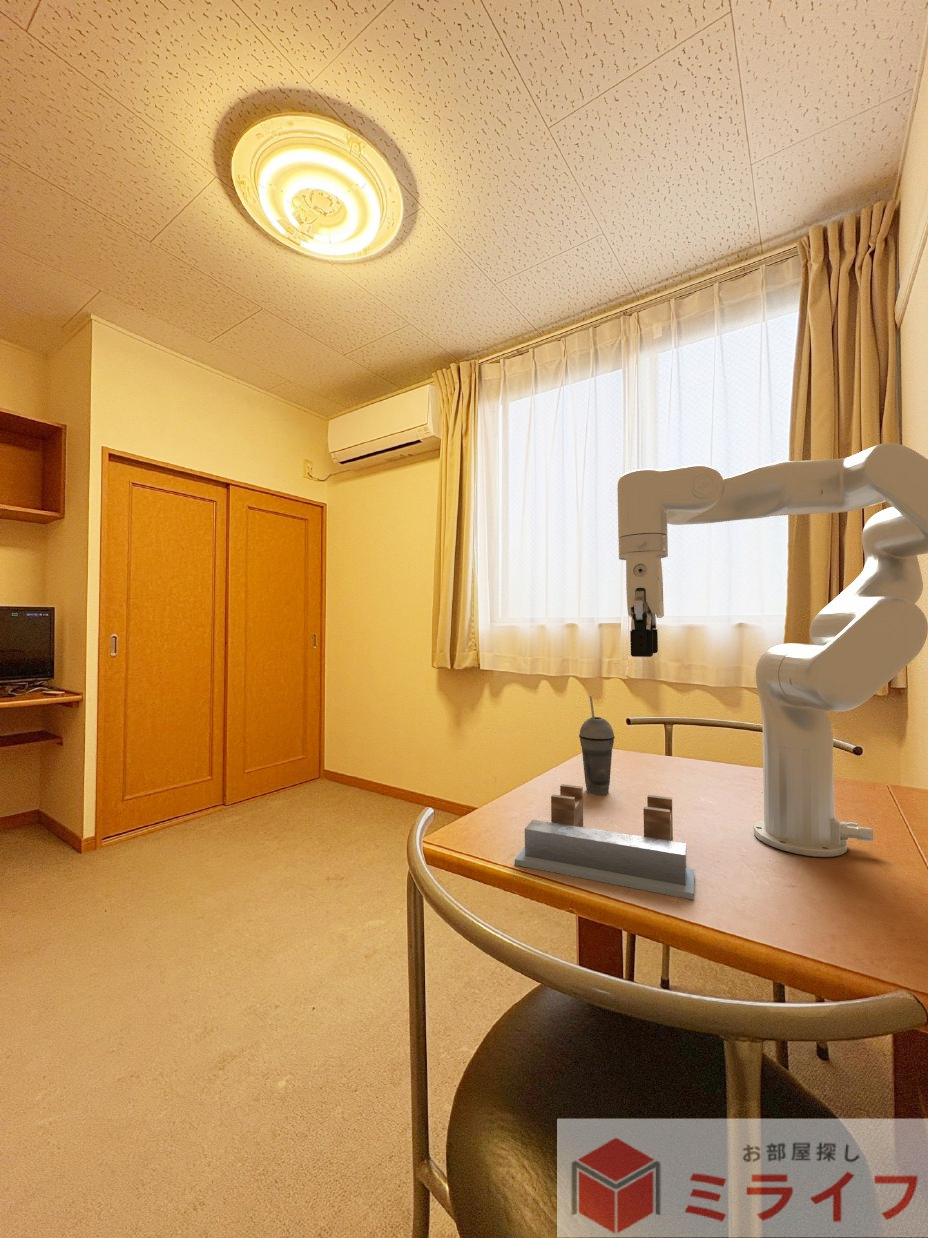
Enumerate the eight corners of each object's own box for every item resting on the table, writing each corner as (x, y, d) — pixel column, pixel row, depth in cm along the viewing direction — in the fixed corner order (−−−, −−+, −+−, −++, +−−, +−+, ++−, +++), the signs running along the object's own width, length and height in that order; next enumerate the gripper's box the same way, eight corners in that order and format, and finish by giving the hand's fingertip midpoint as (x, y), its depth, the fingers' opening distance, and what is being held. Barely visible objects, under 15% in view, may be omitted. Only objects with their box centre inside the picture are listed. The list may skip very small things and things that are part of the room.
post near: (672, 847, 81) (672, 797, 81) (670, 866, 75) (669, 812, 75) (648, 843, 82) (647, 794, 82) (644, 861, 76) (643, 808, 76)
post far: (583, 833, 87) (582, 786, 87) (574, 849, 81) (573, 799, 81) (562, 829, 88) (561, 784, 88) (551, 845, 82) (551, 796, 82)
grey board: (694, 875, 72) (694, 869, 72) (693, 900, 66) (693, 893, 66) (529, 846, 82) (529, 840, 82) (514, 864, 76) (514, 859, 76)
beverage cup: (609, 799, 103) (608, 699, 103) (574, 793, 107) (573, 697, 107) (619, 789, 109) (618, 695, 109) (586, 784, 113) (585, 693, 113)
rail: (686, 872, 71) (686, 843, 71) (685, 886, 67) (685, 855, 68) (532, 845, 80) (532, 819, 80) (524, 856, 77) (524, 829, 77)
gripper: (664, 539, 74) (666, 658, 74) (670, 553, 90) (672, 651, 90) (610, 543, 77) (612, 658, 77) (625, 556, 93) (627, 651, 93)
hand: (645, 654), depth 83 cm, fingers open, 9 cm apart
